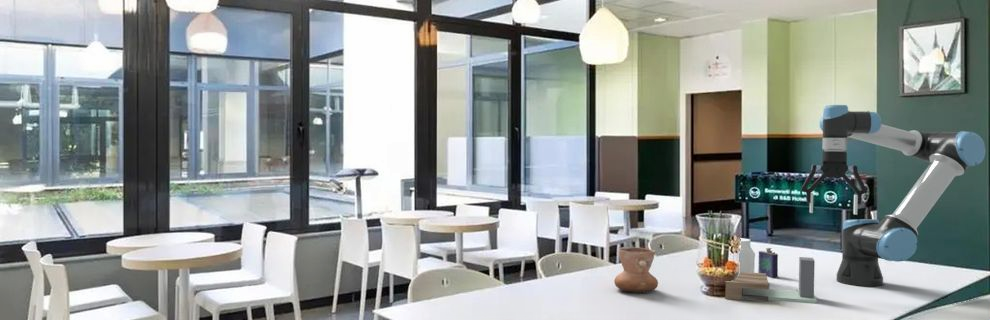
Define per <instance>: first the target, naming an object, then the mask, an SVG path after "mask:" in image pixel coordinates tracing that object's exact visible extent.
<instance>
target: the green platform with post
mask: <svg viewBox="0 0 990 320" xmlns="http://www.w3.org/2000/svg"><path fill="white" fill-rule="evenodd" d="M798 259H799V263H798V264H799V266H798V290H789V289H788V290H787V289H785V290H784V289H774V288H769V289H756V288H742V294H743V295H756V296H768V301H780V302H791V303H792V302H793V303H804V304H805V303H807V304H817V303H818V301H817V299H816V297H815V268H816V267H815V266H816V265H815V259H814V258H813V257H807V256H805V257H803V256H799V258H798Z"/></svg>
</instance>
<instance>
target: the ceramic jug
mask: <svg viewBox="0 0 990 320" xmlns="http://www.w3.org/2000/svg"><path fill="white" fill-rule="evenodd" d="M618 256H619V260H620V263H621V266H622V268H623V271H622V272H619V274H617V275H616V276H615V277H614V281H613V282H614V285H615V287H616V288H618V290H621V291H623V292H625V293H632V294H645V293H650V292H652V291H654V290H656V289H657V288H658V285H659V280H658V279H657V278H656V276H654V275H653V274H652V273H650V269H651V267H652V265H653V261H654V259H655V256H656V250H654V249H650V248H645V247H639V246H638V247H636V246H628V247H626V246H624V247H619V248H618Z"/></svg>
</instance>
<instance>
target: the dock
mask: <svg viewBox="0 0 990 320" xmlns="http://www.w3.org/2000/svg"><path fill="white" fill-rule="evenodd" d="M742 288H756V289H770V285H769V280H768V276H767V275H766V274H765V273H758V272H754V273H749V272H740V274H739V276H738V278H737V279H735V280H731V281H725V295H724V296H725V297H724V298H725V299H727V300H740V301H742V300H752V301H760V302H761V301H763V302H768V301H769V300H768V296H756V295H743V293H742Z"/></svg>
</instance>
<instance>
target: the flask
mask: <svg viewBox="0 0 990 320" xmlns="http://www.w3.org/2000/svg"><path fill="white" fill-rule="evenodd" d="M771 249H772V247H767V248H766V247H765V250H766V251H765V250H758V270H757V273H765V274H766V275H767V277H768V276H769V277H768V278H771V279H779V278H778V276H779V275H778V273H779V272H778V271H779V270H778V267H779V266H778V263H779V262H778V259H779V258H778V257H779V254H778V253H776V252H775V251H774V252H773V251H772V250H771Z"/></svg>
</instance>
